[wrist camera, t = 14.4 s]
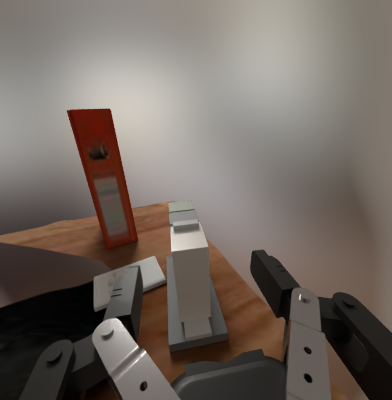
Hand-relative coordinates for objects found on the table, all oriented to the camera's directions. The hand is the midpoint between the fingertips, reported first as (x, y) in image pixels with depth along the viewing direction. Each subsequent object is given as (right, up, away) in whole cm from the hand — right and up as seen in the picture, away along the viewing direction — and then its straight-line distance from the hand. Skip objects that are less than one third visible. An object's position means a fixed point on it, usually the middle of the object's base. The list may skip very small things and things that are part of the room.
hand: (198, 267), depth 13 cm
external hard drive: (-13, -12, +24) cm, 30 cm away
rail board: (-1, -12, +20) cm, 24 cm away
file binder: (-23, -5, +43) cm, 49 cm away
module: (-1, -11, +16) cm, 20 cm away
